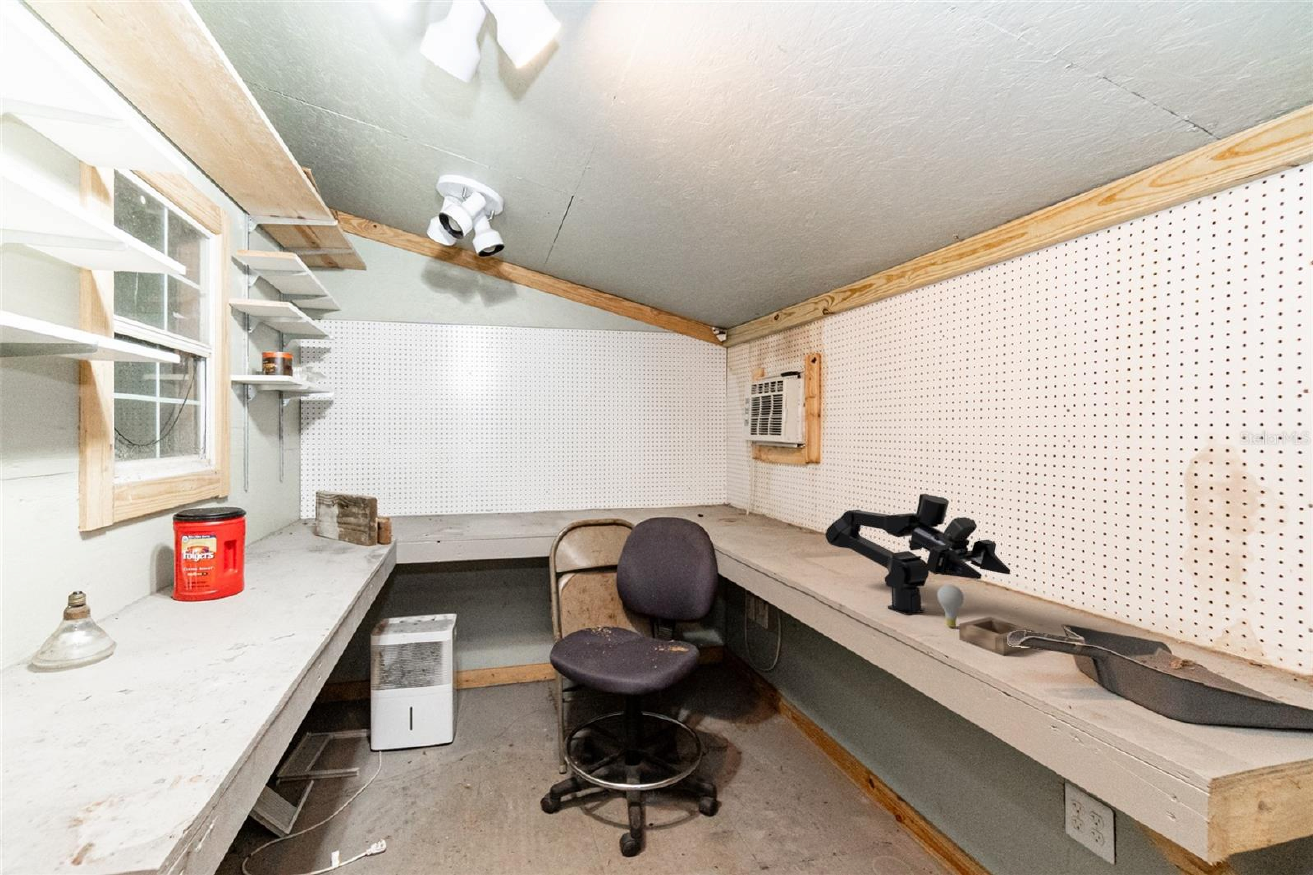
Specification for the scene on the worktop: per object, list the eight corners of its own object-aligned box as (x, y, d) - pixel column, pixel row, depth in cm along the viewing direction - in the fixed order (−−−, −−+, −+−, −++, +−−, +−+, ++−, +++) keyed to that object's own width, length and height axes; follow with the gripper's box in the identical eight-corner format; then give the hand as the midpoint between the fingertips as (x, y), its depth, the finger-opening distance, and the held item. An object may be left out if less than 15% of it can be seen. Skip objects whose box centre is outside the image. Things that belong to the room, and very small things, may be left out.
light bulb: (934, 627, 129) (933, 585, 129) (942, 621, 133) (941, 580, 133) (960, 633, 125) (959, 589, 125) (967, 626, 129) (966, 584, 129)
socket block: (959, 639, 121) (959, 623, 121) (989, 631, 125) (989, 616, 125) (1003, 655, 112) (1003, 638, 112) (1034, 646, 116) (1034, 630, 116)
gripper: (915, 514, 127) (975, 545, 113) (971, 509, 134) (1033, 537, 121) (904, 557, 130) (961, 592, 116) (960, 549, 137) (1019, 582, 124)
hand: (995, 574), depth 119 cm, fingers open, 9 cm apart
